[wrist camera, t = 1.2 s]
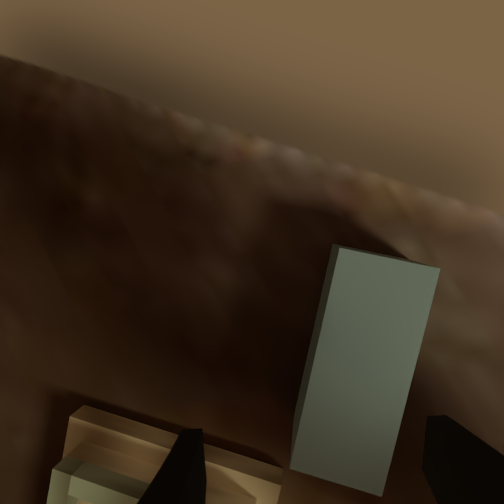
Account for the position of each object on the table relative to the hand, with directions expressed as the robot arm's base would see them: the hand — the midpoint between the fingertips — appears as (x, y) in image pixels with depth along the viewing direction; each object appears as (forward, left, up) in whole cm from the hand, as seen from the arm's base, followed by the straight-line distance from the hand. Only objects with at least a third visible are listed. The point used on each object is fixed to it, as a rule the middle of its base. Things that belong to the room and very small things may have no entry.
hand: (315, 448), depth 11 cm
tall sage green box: (-2, -1, -10) cm, 11 cm away
